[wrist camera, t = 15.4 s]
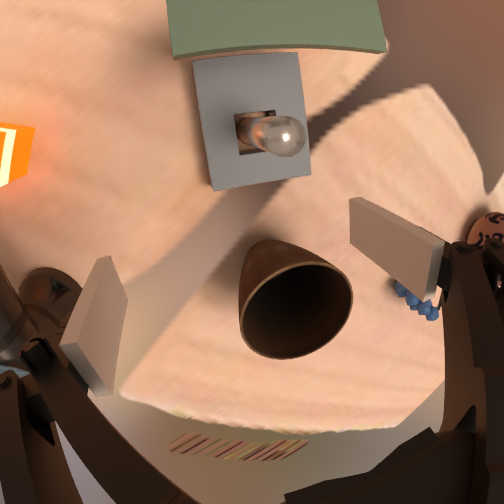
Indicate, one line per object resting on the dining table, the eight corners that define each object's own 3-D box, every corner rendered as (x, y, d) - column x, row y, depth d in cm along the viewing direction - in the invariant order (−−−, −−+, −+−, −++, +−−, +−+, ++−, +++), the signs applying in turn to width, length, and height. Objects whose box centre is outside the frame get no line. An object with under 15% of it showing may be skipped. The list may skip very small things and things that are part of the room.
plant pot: (245, 203, 44) (274, 245, 30) (323, 234, 49) (373, 281, 35) (209, 284, 49) (221, 349, 35) (285, 304, 54) (316, 365, 40)
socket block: (301, 170, 44) (311, 175, 40) (211, 185, 42) (213, 191, 38) (288, 57, 36) (297, 52, 32) (192, 66, 34) (192, 61, 30)
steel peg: (262, 116, 39) (303, 114, 25) (266, 142, 41) (307, 154, 27) (235, 119, 38) (262, 118, 24) (239, 146, 40) (267, 160, 26)
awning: (303, 75, 37) (387, 51, 19) (180, 88, 35) (172, 55, 17) (296, 34, 34) (373, -12, 16) (174, 45, 32) (164, -18, 13)
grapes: (424, 280, 61) (456, 307, 50) (408, 302, 62) (437, 332, 52) (400, 261, 56) (436, 290, 46) (382, 287, 58) (414, 319, 47)
